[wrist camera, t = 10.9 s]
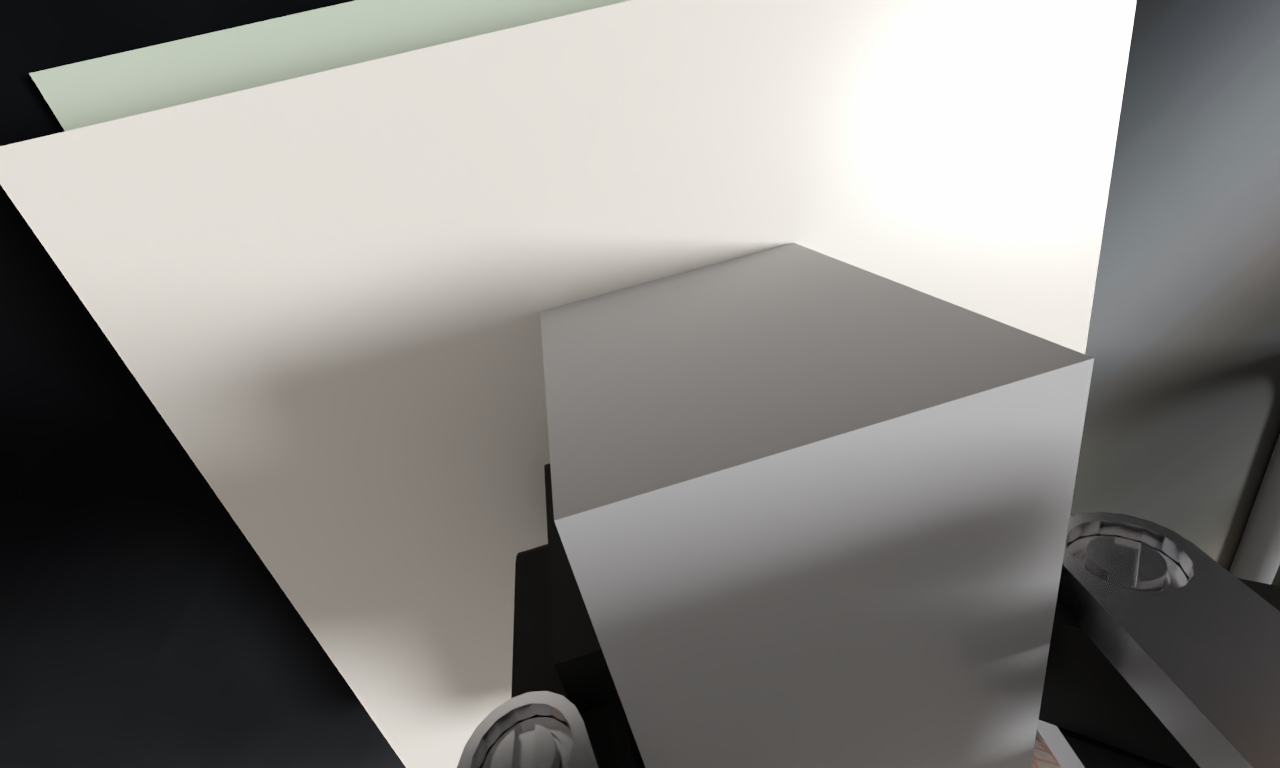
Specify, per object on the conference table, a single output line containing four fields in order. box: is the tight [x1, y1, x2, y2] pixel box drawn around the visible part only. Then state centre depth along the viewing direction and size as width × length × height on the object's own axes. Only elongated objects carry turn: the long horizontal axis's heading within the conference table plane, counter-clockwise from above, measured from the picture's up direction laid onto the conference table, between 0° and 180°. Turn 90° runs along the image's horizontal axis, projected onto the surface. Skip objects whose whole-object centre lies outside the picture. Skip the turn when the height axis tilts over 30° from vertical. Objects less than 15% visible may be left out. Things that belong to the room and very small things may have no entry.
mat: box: [29, 0, 630, 131], centre depth 14 cm, size 18×18×1 cm
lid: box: [0, 0, 1137, 768], centre depth 9 cm, size 15×15×8 cm
